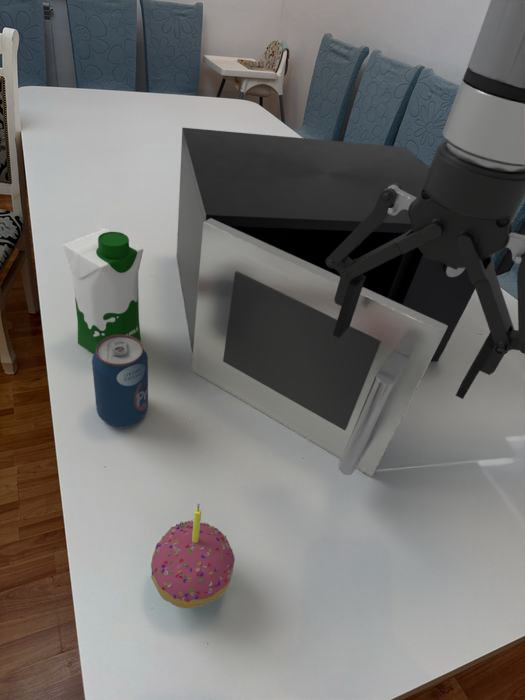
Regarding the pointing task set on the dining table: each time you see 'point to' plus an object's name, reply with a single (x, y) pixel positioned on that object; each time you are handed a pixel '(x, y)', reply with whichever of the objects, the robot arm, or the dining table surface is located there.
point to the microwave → (310, 212)
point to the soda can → (120, 380)
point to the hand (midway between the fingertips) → (399, 359)
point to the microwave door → (306, 347)
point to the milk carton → (105, 286)
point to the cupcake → (192, 564)
